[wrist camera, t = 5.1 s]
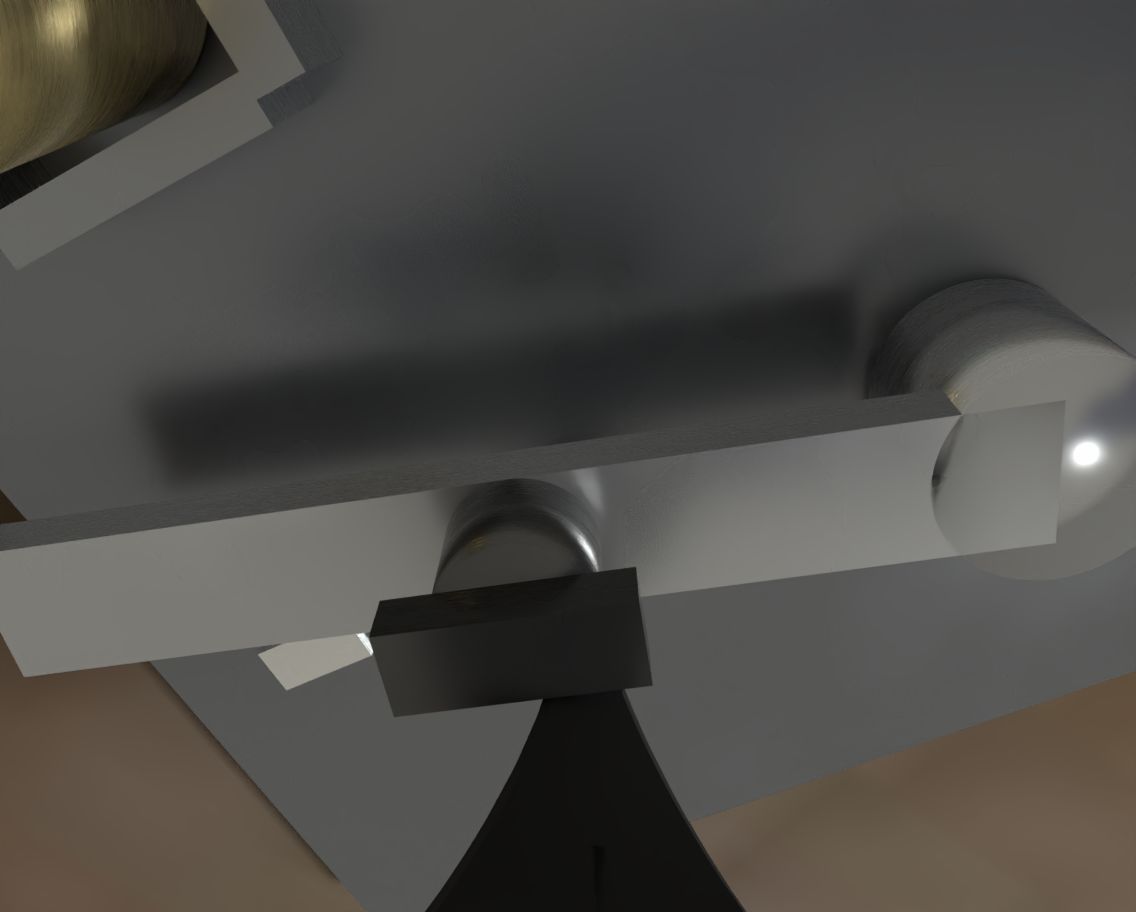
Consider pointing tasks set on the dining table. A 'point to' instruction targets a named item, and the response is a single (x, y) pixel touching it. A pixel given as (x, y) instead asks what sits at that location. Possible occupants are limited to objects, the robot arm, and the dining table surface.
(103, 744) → the dining table surface
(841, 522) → the crank
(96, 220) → the crank plate
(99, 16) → the olive brown rounded cylinder
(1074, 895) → the dining table surface
